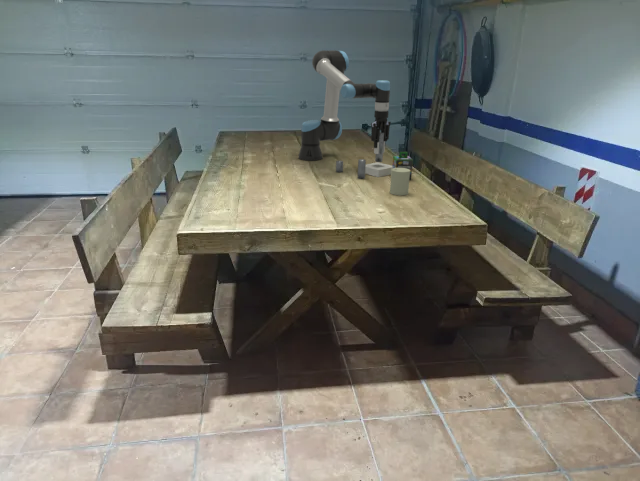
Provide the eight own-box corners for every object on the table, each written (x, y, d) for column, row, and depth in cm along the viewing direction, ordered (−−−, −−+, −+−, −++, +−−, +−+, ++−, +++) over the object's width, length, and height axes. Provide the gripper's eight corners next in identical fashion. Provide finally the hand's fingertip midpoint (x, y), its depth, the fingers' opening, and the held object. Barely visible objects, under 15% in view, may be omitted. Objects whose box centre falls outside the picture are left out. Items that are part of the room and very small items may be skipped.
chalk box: (407, 176, 271) (409, 149, 265) (411, 180, 262) (414, 153, 257) (391, 176, 270) (393, 149, 265) (394, 180, 262) (396, 153, 256)
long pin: (373, 161, 274) (375, 132, 268) (378, 160, 276) (380, 131, 271) (378, 162, 271) (380, 133, 265) (383, 161, 273) (385, 132, 268)
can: (388, 190, 243) (390, 166, 239) (407, 190, 243) (409, 166, 239) (390, 195, 235) (392, 170, 230) (409, 195, 235) (411, 171, 230)
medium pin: (356, 177, 265) (356, 159, 261) (361, 176, 267) (362, 158, 264) (361, 179, 262) (362, 161, 258) (366, 178, 264) (367, 160, 261)
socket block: (360, 172, 277) (360, 165, 276) (377, 168, 286) (378, 162, 284) (378, 177, 267) (378, 170, 266) (395, 173, 276) (395, 166, 274)
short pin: (334, 171, 278) (334, 161, 276) (339, 170, 280) (339, 160, 278) (339, 172, 275) (339, 162, 273) (344, 172, 277) (344, 161, 275)
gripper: (375, 112, 256) (373, 156, 264) (397, 110, 266) (394, 152, 274) (365, 110, 261) (363, 153, 270) (387, 108, 271) (384, 150, 280)
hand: (379, 153), depth 272 cm, fingers closed on long pin, 4 cm apart
